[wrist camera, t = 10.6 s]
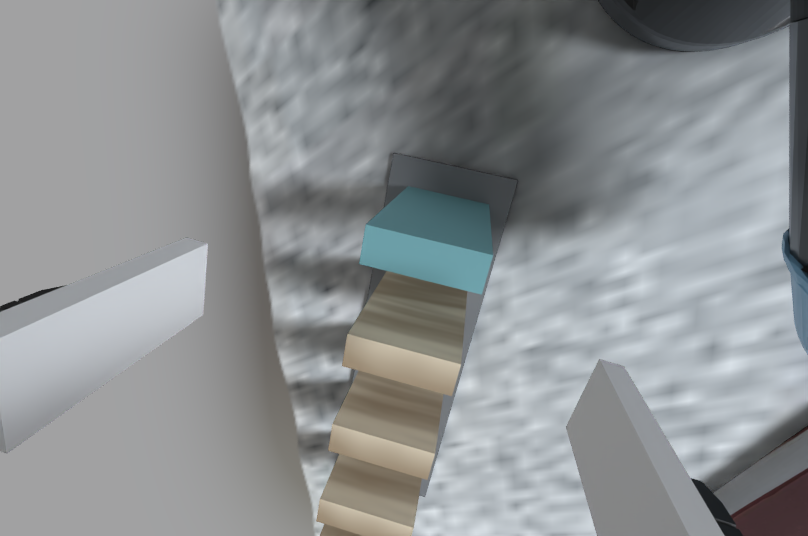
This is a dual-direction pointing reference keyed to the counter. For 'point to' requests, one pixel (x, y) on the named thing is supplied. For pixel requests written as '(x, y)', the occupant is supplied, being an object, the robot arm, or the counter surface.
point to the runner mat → (461, 186)
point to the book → (772, 492)
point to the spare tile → (431, 239)
